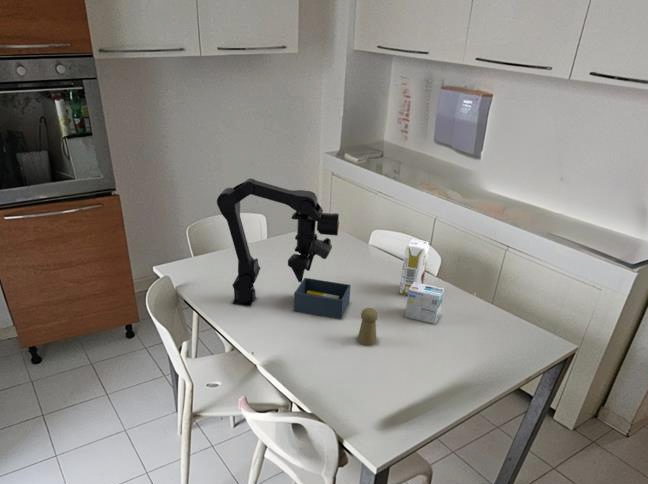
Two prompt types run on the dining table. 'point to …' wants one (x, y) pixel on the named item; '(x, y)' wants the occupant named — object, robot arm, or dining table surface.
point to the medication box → (323, 295)
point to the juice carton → (413, 264)
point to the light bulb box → (424, 302)
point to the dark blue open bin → (322, 298)
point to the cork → (368, 327)
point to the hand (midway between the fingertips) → (304, 276)
